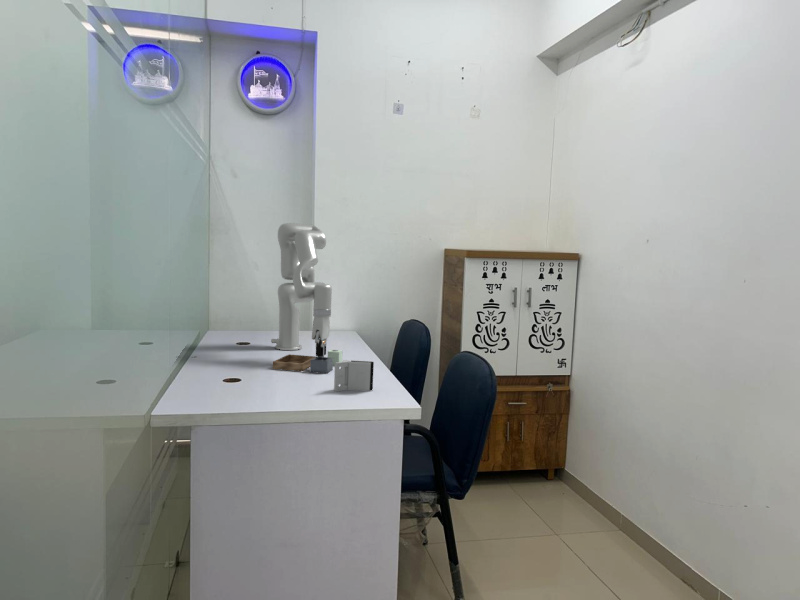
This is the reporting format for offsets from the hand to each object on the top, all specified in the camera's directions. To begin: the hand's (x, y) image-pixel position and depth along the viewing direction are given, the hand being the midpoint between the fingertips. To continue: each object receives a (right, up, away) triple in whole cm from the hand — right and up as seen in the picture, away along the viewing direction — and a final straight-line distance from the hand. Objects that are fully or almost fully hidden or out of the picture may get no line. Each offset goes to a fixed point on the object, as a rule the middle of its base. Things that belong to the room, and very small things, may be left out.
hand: (320, 355), depth 243 cm
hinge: (+17, -8, -44) cm, 48 cm away
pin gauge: (0, -3, 0) cm, 3 cm away
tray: (-9, -4, -10) cm, 14 cm away
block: (+3, -5, -16) cm, 17 cm away
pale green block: (+6, -4, -3) cm, 8 cm away
